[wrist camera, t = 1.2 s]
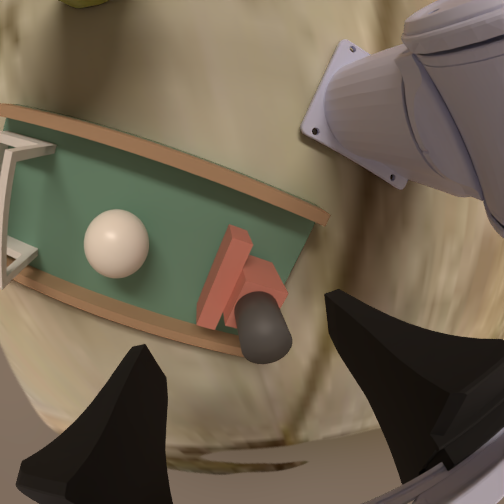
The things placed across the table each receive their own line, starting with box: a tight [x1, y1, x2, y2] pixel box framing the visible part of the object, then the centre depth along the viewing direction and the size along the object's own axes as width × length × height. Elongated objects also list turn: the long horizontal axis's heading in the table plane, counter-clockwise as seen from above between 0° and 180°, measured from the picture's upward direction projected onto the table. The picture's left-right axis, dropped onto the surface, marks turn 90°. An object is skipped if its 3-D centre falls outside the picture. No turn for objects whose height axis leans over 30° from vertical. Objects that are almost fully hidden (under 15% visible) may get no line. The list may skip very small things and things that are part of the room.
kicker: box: [196, 224, 292, 364], centre depth 16 cm, size 4×6×7 cm, turn 156°
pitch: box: [0, 104, 331, 357], centre depth 17 cm, size 24×12×2 cm, turn 66°
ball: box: [84, 209, 149, 278], centre depth 15 cm, size 4×4×4 cm
